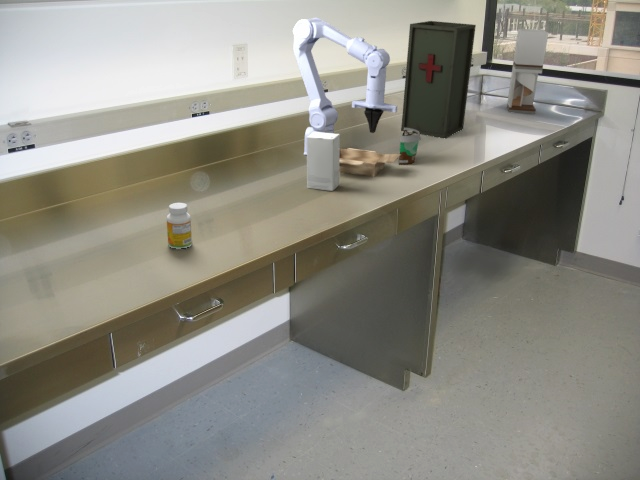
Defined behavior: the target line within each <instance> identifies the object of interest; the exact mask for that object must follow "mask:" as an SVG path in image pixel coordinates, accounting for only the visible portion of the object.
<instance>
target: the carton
mask: <svg viewBox="0 0 640 480" xmlns="http://www.w3.org/2000/svg"><path fill="white" fill-rule="evenodd" d="M384 155H385V153H378V151H374V150H366V149H359V148H358V149H357V148H352V147H351V148H350V147H347V149H346V148H340V156H339V158H341V159H349V160H356V161H363V162H365V163H364V164H363V165H361V166H358V165H351V164H344V163H339V173H346V174H352V175H358V176H359V175H360V176H367V177H372V178H373V177H375V176H377V175H378V173H379V172H381V170H383V168H385V165H386V163H378V161H379V160H380V159H381V158H382V157H383V156H384Z"/></svg>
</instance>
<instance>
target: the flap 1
mask: <svg viewBox="0 0 640 480" xmlns="http://www.w3.org/2000/svg"><path fill="white" fill-rule="evenodd" d="M339 163H344V164H351V165H358V166H361V165H363V164H364V163H365V162H363V161H356V160H349V159H341V158H339Z"/></svg>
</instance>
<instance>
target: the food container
mask: <svg viewBox="0 0 640 480" xmlns="http://www.w3.org/2000/svg"><path fill="white" fill-rule="evenodd" d="M421 139H422V138H421V134H420V133H419V131H417V130H415V129H411V128H404V131H402V134H401V135H400V139H399V140H400V141H399V142H400V144H399V154H401V156H400V157H399V158H398V166H410V165H414V164H415V163H416V158H417V153H418V152H417V151H418V146H419V141H421Z"/></svg>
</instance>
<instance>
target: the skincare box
mask: <svg viewBox="0 0 640 480" xmlns="http://www.w3.org/2000/svg"><path fill="white" fill-rule="evenodd" d="M340 137H341V134H340V133H335V132H334V133H323V132H313V133H312V134H310V135H309V136H308V137H307V155H306V188H307V189H312V190H322V191H327V192H328V191H329V192H333V191H334V190H336V189H337V187H338V186H339V185H340V172H339V156H340V146H341V145H340V140H341V138H340Z"/></svg>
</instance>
